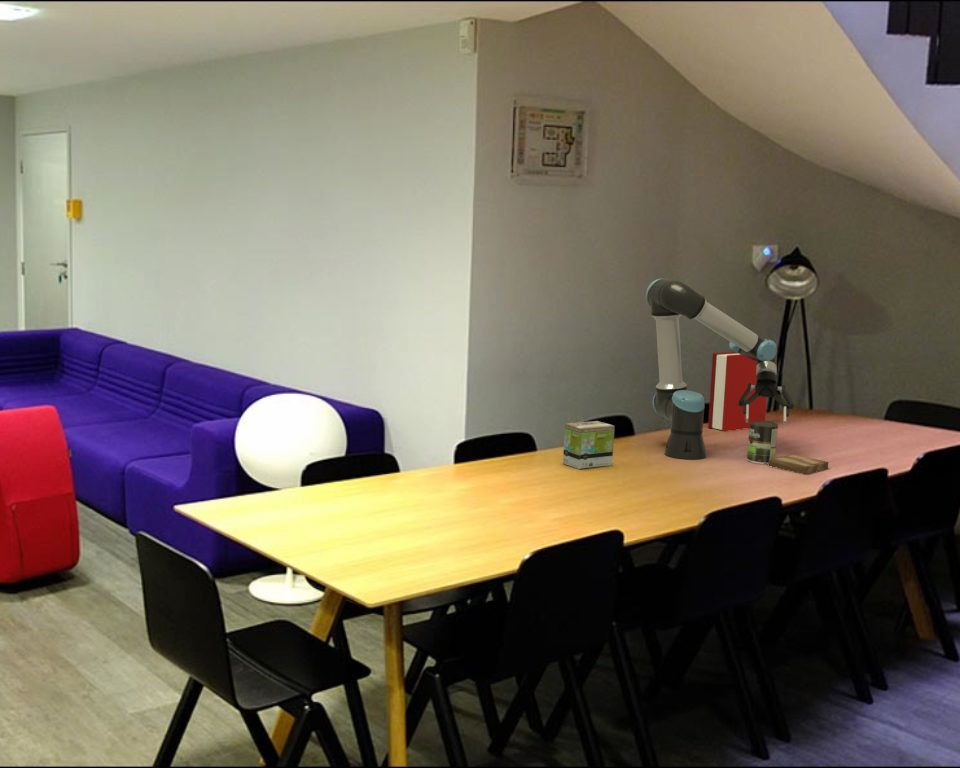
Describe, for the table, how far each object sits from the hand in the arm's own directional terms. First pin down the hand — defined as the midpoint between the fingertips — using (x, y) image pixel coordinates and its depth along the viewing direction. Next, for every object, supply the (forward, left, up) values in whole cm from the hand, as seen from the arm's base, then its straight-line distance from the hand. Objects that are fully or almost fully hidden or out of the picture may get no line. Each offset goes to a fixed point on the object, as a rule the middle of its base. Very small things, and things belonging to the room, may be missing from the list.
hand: (765, 421), depth 402 cm
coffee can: (-7, -4, -14) cm, 16 cm away
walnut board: (-5, -18, -13) cm, 23 cm away
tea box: (-64, +30, -14) cm, 72 cm away
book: (+42, +39, -14) cm, 59 cm away
